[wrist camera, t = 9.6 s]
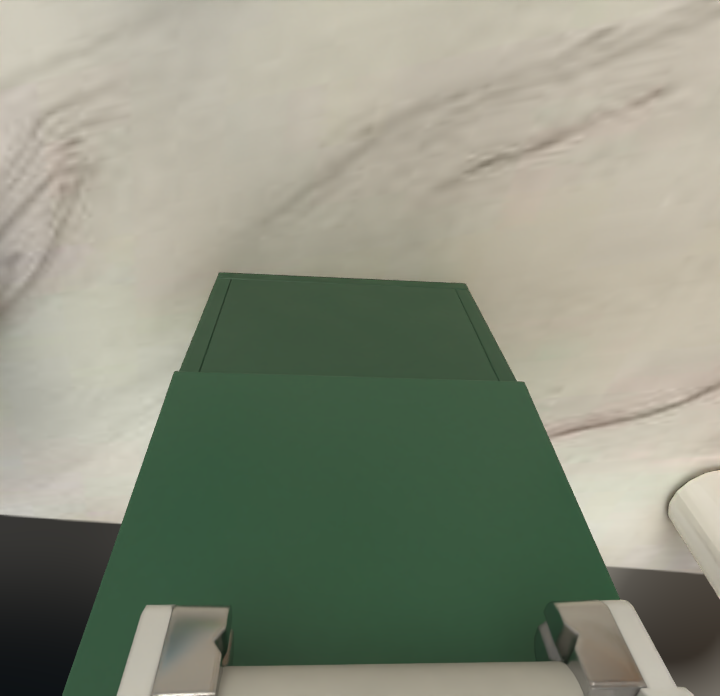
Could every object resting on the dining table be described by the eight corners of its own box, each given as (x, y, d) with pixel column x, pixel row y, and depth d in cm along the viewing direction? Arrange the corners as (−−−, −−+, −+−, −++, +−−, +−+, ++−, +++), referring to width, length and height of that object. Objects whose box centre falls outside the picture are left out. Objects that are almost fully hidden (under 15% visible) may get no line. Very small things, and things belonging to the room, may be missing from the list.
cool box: (429, 475, 38) (459, 603, 30) (230, 472, 37) (204, 605, 29) (465, 283, 31) (518, 382, 23) (218, 271, 30) (177, 372, 21)
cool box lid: (752, 955, 10) (935, 902, 7) (-28, 1006, 9) (-174, 966, 6) (519, 396, 23) (553, 295, 20) (176, 386, 21) (159, 277, 18)
